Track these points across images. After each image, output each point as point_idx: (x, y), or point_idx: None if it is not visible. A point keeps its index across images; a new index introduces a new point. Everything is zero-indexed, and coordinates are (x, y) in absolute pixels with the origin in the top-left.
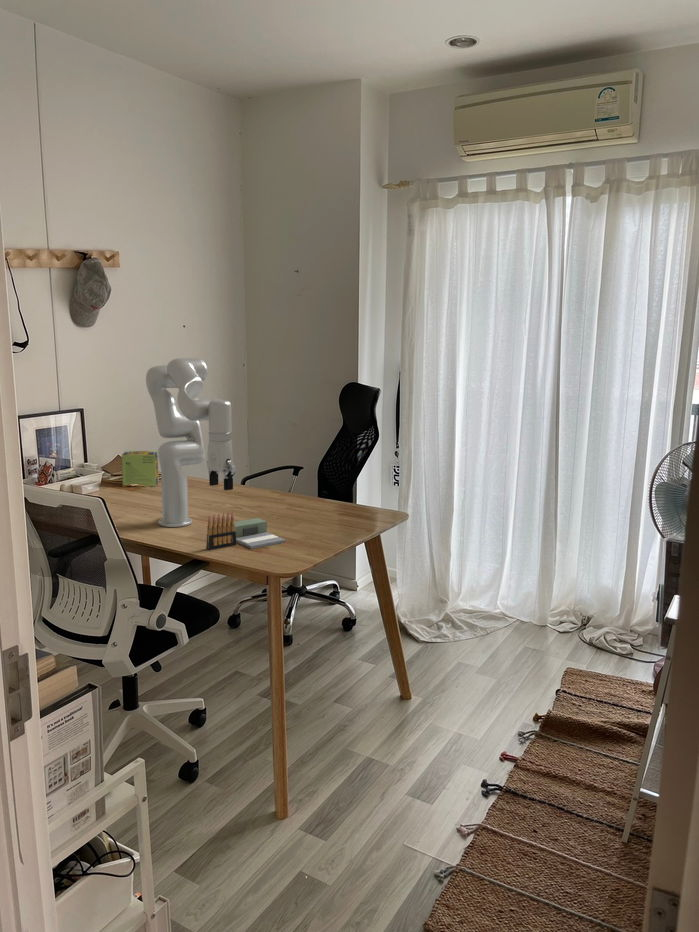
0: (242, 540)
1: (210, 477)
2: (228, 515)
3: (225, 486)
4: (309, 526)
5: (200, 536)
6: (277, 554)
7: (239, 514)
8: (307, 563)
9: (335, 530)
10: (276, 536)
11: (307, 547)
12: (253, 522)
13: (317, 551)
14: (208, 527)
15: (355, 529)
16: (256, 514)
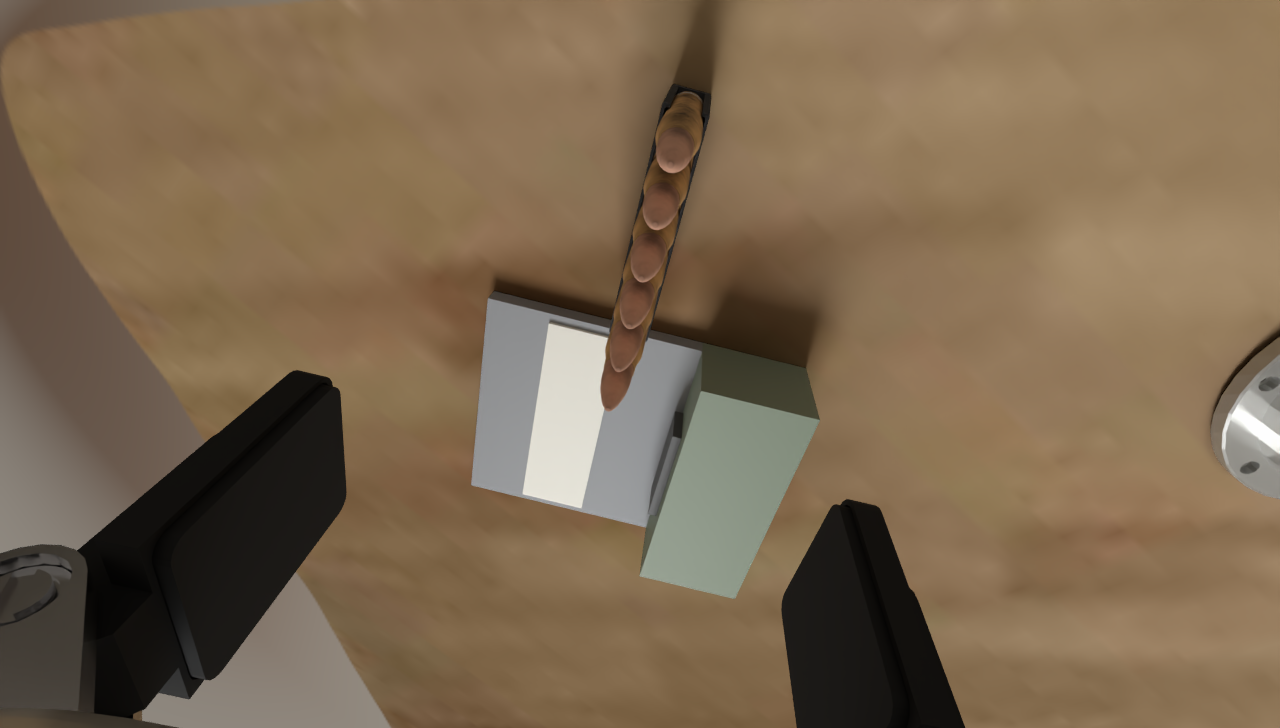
0: None
1: (884, 642)
2: (612, 349)
3: (249, 422)
4: (601, 676)
5: (960, 283)
6: (321, 308)
7: (1024, 678)
8: (106, 291)
9: (482, 679)
10: (537, 494)
11: None
12: (680, 527)
13: None
14: (673, 115)
15: (444, 713)
16: None
